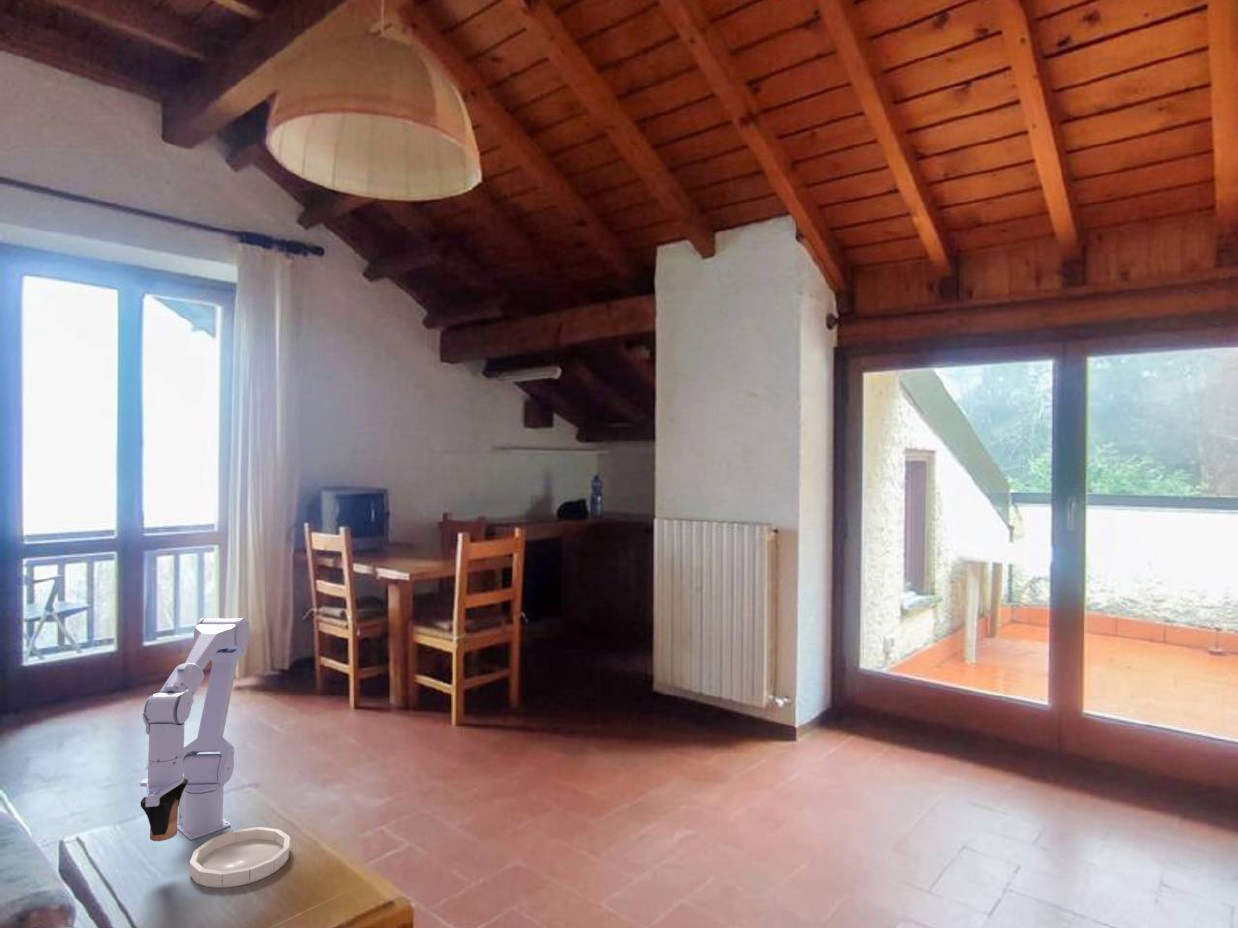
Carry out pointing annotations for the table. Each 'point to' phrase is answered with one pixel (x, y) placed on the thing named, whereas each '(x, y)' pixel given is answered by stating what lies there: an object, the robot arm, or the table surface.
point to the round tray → (239, 857)
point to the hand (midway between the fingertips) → (163, 827)
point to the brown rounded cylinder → (171, 826)
